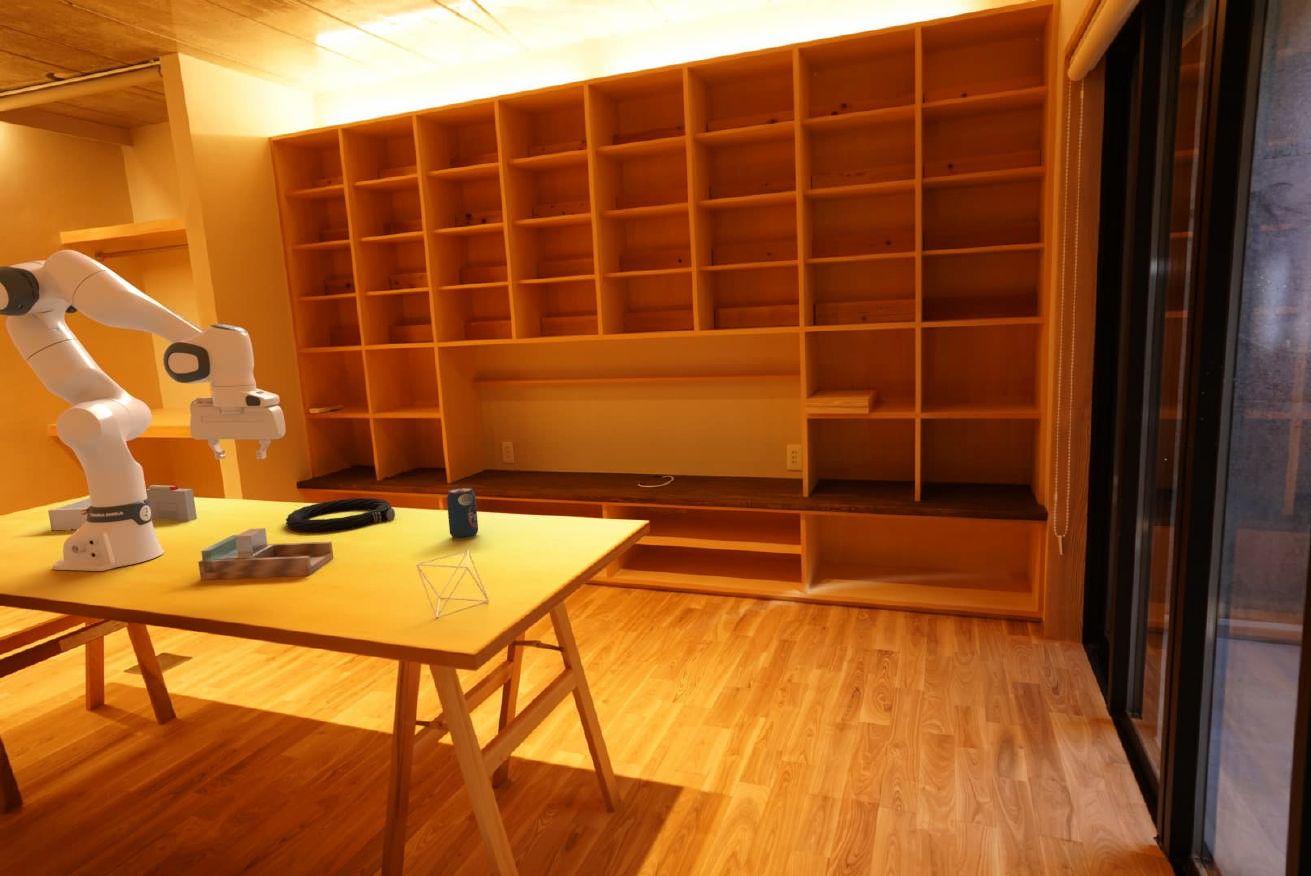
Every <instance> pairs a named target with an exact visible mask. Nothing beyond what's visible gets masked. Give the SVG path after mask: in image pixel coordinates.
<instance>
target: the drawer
mask: <svg viewBox="0 0 1311 876" xmlns="http://www.w3.org/2000/svg"><path fill="white" fill-rule="evenodd" d="M237 535H238V534H233V535H230V536H228V537H226V538H224V539H223V540H220V541H218V542H216V543H214V544H212V545H210V546H208V547H206V548H203V549H202V550H201V551H200V553H201V558H202V560H199V561H198V562H197V563H198V568H199V575H200V576H199V577H200V581H201V580H203V581H204V580H223V579H224V580H226V579H229V580H231V579H253V578H255V579H256V578H275V577H276V578H277V577H279V578H281V577H301V576H302V577H303V576H304V577H305V576H307V577H308V576H311V575H312V574H314V573H315V572H316V571H318V570H319V569H320V568H322V567H323V566H325V564H328V562H330V561H331V560H333V559H334V552H333V543H332V541H312V542H311V541H310V542H290V543H289V542H288V543H286V542H283V543H267V545H273V547H274V554H275V556H273V557H272V558H248V559H223V560H216V559H217V558H219V557H221V556H223V555H224V554H226V553H228V552H230V551H232V550H234V549H236V548H237V546H236V539H235V536H237Z"/></svg>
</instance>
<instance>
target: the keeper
mask: <svg viewBox="0 0 1311 876" xmlns="http://www.w3.org/2000/svg"><path fill="white" fill-rule="evenodd" d="M236 535H237V536H235V539H236V546H237V548H236V549H234V550H232V551H230V552H228V553H226V554H224V555H223V556H221V557H219V558H217V559H216V560H223V559H248V558H272V557H273V556H275V554H274V547H273V545H267V544H268V539H267V531H266V527H265V528H264V527H263V528H261V527H260V528H250V529H247V530H246V531H243V532H241V533H239V534H236Z"/></svg>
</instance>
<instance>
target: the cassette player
mask: <svg viewBox="0 0 1311 876" xmlns="http://www.w3.org/2000/svg"><path fill="white" fill-rule="evenodd" d="M146 493H147V497H148V498H149V499H150V504H151V510H152V520H154V521H155V520H157V521H175V522H177V521H178V522H191V521H194V520H197V519H198V516H197V512H196V511H197V510H196V509H197V508H196V503H195V496H194V489H193V488H178V485H159V484H158V485H157V484H155V485H154V484H151V485H149V488H147V489H146Z"/></svg>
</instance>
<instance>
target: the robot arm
mask: <svg viewBox="0 0 1311 876" xmlns="http://www.w3.org/2000/svg"><path fill="white" fill-rule="evenodd" d="M78 311H79V312H80V313H81V314H83V315H84V316H86V317H87V318H89V319H91V320H93V321H94V322H97V323H99V324H101V325H103V326H107V327H110V328H119V329H127V330H135V331H136V330H137V331H140V332H144V333H145V332H146V333H150V334H153V335H156V336H158V337H160V338H163V339H165V340H166V341H168V342H170V343H171V344H170V345H168V346H167V348H166V350H165V351H164V354H163V367H164V369H165V372H166V373H167V375H168V376H169V377H170V378H171V379H172V380H173V381H175V382H177V383H182V384H187V385H188V384H199V383H200V384H202V383H203V384H204V383H210V389H211V397H205V398H203V397H197V398H195V399H194V400H192V401H191V402H190V404H189V410H190V423H189V425H190V426H189V431H190V436H191V437H192V438H193V439H194V440H207V445H208V446H209V447H210V449H211V450H212V452H213V454H214V459H215V460H223V459H225V458H226V456H227V455H226V450H225V449H224V450H223V449H222V448H221V447H220V445H219V443H220V441H221V440H258V444H259V445H260V448H259V449H258V450H255V452H254V453H255V459H257V460H264V459H266V458H267V450H268V448H269V446H270V444H271V440H278V439H281V438H283V437H284V436H285V435H286V430H287V429H286V428H287V427H286V421H285V417H284V416H285V415H284V412H283V409H282V408H281V406H279V404H280V398H281V397H280V396H279V395H278V394H276V393H272V392H269V391H265V390H263V389H260V388H257V382H256V379H255V377H254V368H255V357H254V351H253V345H252V340H251V337H250V335H249V332H248V331H247V330H246V329H244V328H242V327H240V326H237V325H233V324H232V325H231V324H222V323H216V324H215V323H213V324H211V325H209V326H208V327H207V328H206V329H205V330H203V329H202V328H201V327H199V326H197V325H196V324H194V323H192V322H191V321H189V320H188V319H186V318H184V317H183V316H182V315H180V314H178V313H177V312H175V311H173V310H171V308H169V307H166V306H165V305H163V304H162V303H159V302H158V301H157V300H155V299H154V298H152V297H150V296H148V295H147V294H145V293H144V292H142V291H141V290H139V289H138V288H137V287H135V286H134V285H132V284H131V283H130V282H129V281H126V280H125V279H124V278H123V277H121V276H120V275H118V274H117V273H115V272H114V271H112V269H110V268H108V267H107V266H105V265H103V264H102V263H100V262H99V261H98V260H95V259H93V258H91V257H90V256H88V255H85V254H83V253H81V252H79V251H76V250H73V249H62V250H59V251H56V252H54V253H52V254H51V255H49V256H48V257H47V258H46V260H45V259H43V260H31V261H26V262H21V263H17V264H13V265H12V264H11V265H9V266H8V265H7V266H6V265H5V266H0V315H2V316H8V317H7V319H6V320H5V327H6V330H7V333H8V334H9V336H10V339H11V341H12V343H13V345H14V346H15V347H16V349H17V351H18V352H19V355H20V356H21V357H22V359H23V360H24V361H25V362H26V363H27V365H28V366H29V368H30V369H31V370H32V371H33V373H34V374H35V376H36V377H37V378H38V379H39V381H40V382H41V383H42V384H43V386H44V387H45V388H46V389H47V391H48V392H50V393H51V395H52V394H53V395H54V396H57V397H59V398H61V399H62V400H64V401H65V402H67V403H69V404H70V405H71V407H69V408H68V409H66V410H65V411H63V412H61V414H60V415H59V416H58V418H57V419H56V423H55V431H56V434H57V437H58V438H59V440H60V441H61V442H62V443H63V444H64V445H66V447H67V446H68V447H69V448H70V449H71V450H72V452H73V453H74V454H75V456H76V458H77V459H78V461H79V463H80V464H81V467H82V469H83V472H84V474H85V477H86V478H85V479H86V483H87V487H88V494H89V498H90V499H91V506H90V507H88V509H85V510H82V511H85V512H84V513H82V514H81V515H85V514H88V515H87V519H86V521H87V522H86V523H85V524H83V525H82V526H81V527H80V528H79V529H78V530H75V531H74V532H73V533H72V534H71V535H69V536H68V537H67V538H66V539H65V541H64V543H63V547H62V548H63V549H62V556H63V558H61V559H59V560H57V561H56V562H55V563H53V564H52V570H53V571H55V570H59V571H60V570H61V571H83V572H84V571H87V572H89V571H91V572H94V571H95V572H102V571H103V572H104V571H109V570H112V569H115V568H116V569H117V568H118V567H124V566H131V565H134V564H139V563H142V562H147V561H150V560H152V559H155V558H157V557H158V558H159V556H160V557H161V556H162V555H163V554H164V553H165V550H164V549H163V548H162V545H161V544H160V541H159V539H158V536H157V534H156V531H155V528H154V527H155V526H154V523H153V519H152V510H151V504H150V499H149V498H148V497H147V493H146V488H147V487H146V482H145V475H144V469H143V466H142V465H141V464H140V463H139V462H138V461H137V460H135V459H134V457H133V455H132V453H131V451H130V449H129V447H128V445H127V444H128V443H127V442H128V441H132V440H134V439H137V438H138V437H140V436H141V435H142V434H144V432H146V431H147V430H148V429H149V428H150V426H151V424H152V419H153V417H152V412H151V409H150V407H149V406H148V404H146V403H145V402H144V401H142V400H140V399H138V398H136V397H134V396H132V395H131V394H129V393H128V392H127V391H126V390H125V389H124V388H122V387H121V386H120V385H119V384H118V383H117V382H115V381H114V380H113V378H111V377H110V376H109V375H108V374H106V372H105V371H104V370H103V369H101V367H100V366H99V365H98V364H97V363H96V361H95V360H94V359H93V358H92V356H91V355H90V354H89V352H88V351H87V350H86V349H85V347H84V346H83V345H82V343H81V342H80V341H79V339H78V337H76V335H75V334H74V333H73V331H72V330H71V329H70V328H69V327H68V324H67V323H66V321H65V320H66V319H65V315H66V313H67V314H76V313H77V312H78ZM82 511H81V512H82Z"/></svg>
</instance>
